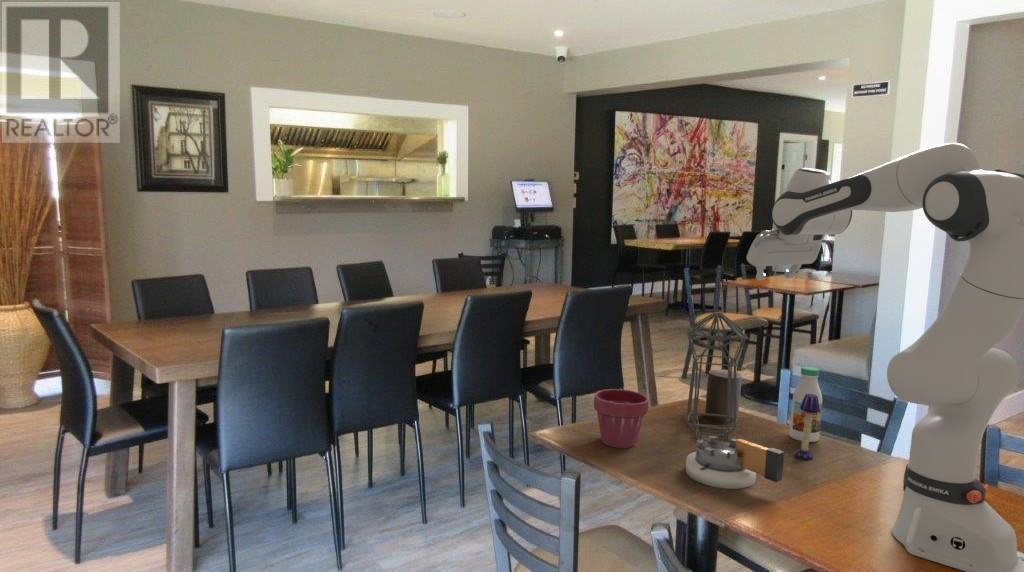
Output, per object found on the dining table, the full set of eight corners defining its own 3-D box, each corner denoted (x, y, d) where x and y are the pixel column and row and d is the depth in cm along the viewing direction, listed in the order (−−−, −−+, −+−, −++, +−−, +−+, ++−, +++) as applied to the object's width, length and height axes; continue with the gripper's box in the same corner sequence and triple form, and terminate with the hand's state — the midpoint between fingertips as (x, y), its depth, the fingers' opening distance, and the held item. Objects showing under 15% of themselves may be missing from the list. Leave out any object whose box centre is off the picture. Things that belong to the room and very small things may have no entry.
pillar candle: (705, 420, 206) (709, 371, 204) (704, 410, 216) (708, 363, 214) (739, 424, 204) (744, 374, 202) (737, 414, 214) (741, 366, 211)
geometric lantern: (680, 442, 187) (687, 314, 183) (683, 426, 202) (689, 306, 198) (742, 449, 183) (749, 318, 179) (740, 432, 198) (747, 310, 194)
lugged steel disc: (684, 459, 167) (686, 430, 166) (714, 449, 174) (716, 421, 173) (763, 489, 151) (766, 458, 150) (793, 477, 158) (796, 447, 157)
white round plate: (769, 478, 165) (770, 465, 165) (729, 494, 155) (730, 481, 155) (712, 457, 177) (713, 445, 177) (672, 471, 167) (672, 458, 167)
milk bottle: (783, 435, 196) (788, 365, 193) (803, 431, 199) (809, 363, 196) (804, 444, 189) (811, 372, 186) (825, 440, 192) (831, 370, 189)
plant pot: (645, 435, 192) (647, 390, 190) (646, 454, 178) (649, 405, 177) (593, 431, 194) (595, 386, 192) (590, 449, 180) (593, 401, 179)
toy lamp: (811, 454, 181) (817, 392, 179) (817, 461, 176) (823, 398, 174) (792, 453, 182) (798, 391, 179) (798, 460, 177) (803, 396, 175)
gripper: (767, 236, 167) (749, 286, 174) (830, 234, 175) (811, 282, 182) (750, 225, 172) (734, 274, 179) (813, 223, 180) (795, 271, 187)
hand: (774, 278), depth 180 cm, fingers open, 8 cm apart
